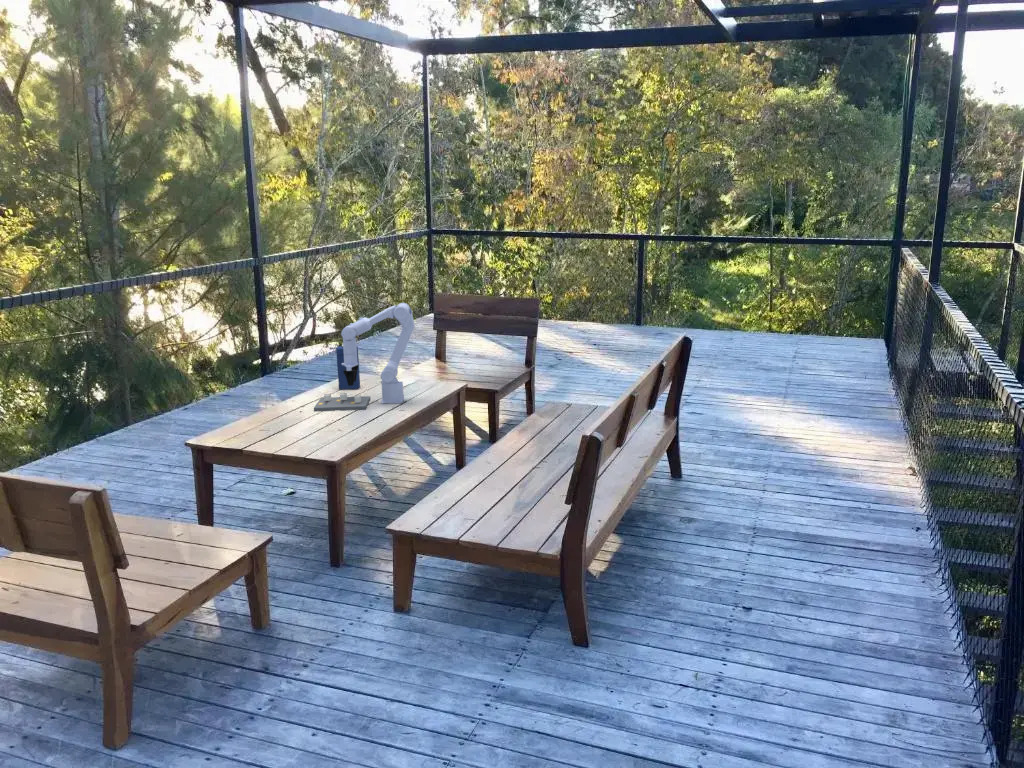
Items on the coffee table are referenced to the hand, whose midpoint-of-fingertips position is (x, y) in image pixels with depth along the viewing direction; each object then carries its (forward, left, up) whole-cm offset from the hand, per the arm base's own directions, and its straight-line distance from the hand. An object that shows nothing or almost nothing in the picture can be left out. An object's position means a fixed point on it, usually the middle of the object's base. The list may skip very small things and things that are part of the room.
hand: (352, 383), depth 391 cm
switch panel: (+4, +5, -9) cm, 11 cm away
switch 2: (+4, +2, -7) cm, 8 cm away
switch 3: (-3, +7, -7) cm, 10 cm away
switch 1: (+11, +2, -7) cm, 13 cm away
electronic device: (+5, -27, -9) cm, 29 cm away
